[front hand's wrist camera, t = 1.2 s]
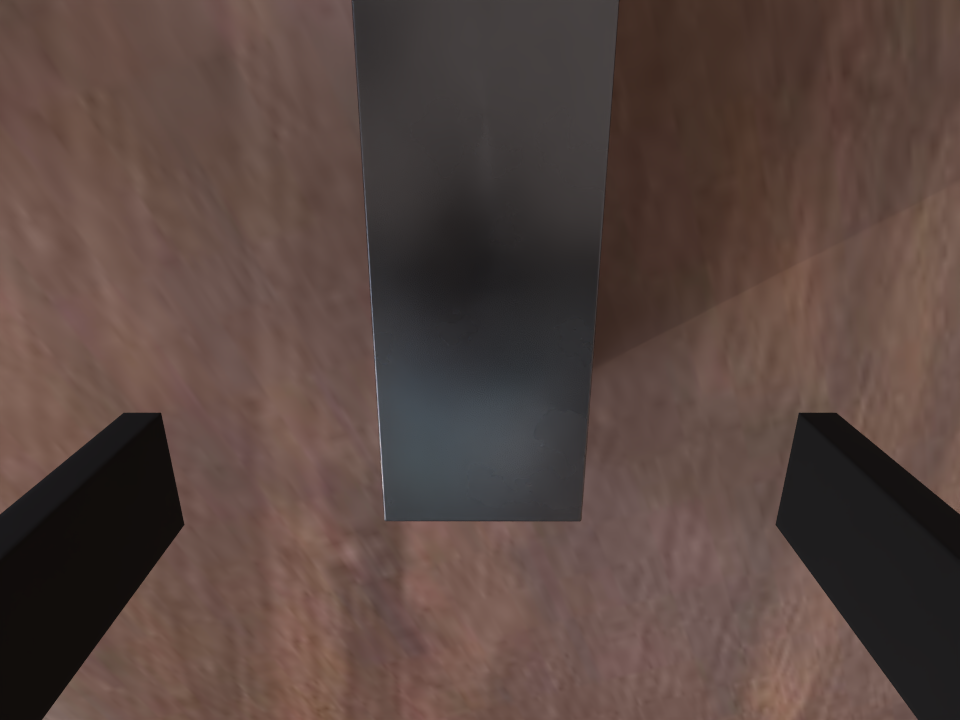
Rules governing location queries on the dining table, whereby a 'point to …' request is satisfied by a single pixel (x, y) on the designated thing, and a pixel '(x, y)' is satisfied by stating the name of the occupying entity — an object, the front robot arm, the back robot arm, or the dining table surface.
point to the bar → (484, 247)
